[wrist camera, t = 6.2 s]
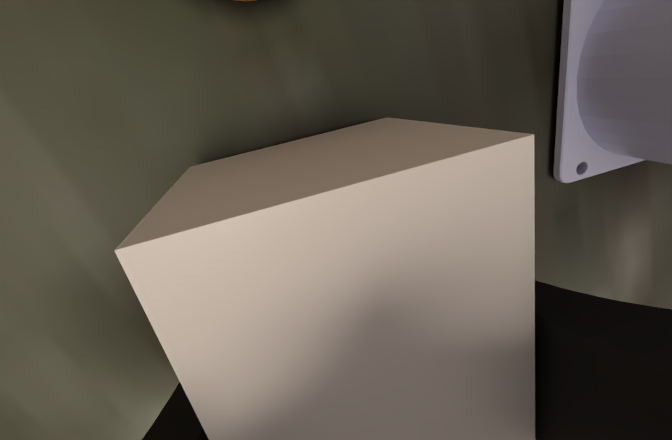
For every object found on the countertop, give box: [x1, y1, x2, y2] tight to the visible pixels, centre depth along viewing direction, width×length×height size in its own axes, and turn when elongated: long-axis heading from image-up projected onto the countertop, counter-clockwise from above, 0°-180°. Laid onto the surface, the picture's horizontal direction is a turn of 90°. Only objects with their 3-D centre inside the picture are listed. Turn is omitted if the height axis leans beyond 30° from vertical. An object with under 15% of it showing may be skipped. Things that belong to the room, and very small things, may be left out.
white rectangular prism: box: [114, 117, 535, 440], centre depth 9 cm, size 10×6×6 cm, turn 11°
